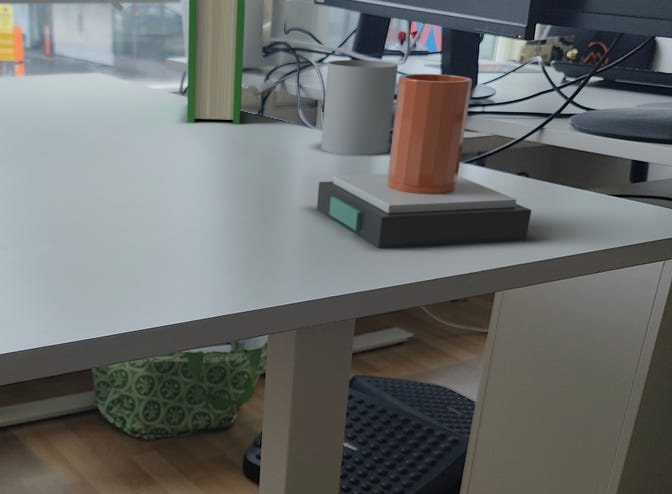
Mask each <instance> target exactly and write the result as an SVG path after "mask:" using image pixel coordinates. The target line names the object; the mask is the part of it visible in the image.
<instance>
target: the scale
mask: <svg viewBox="0 0 672 494" xmlns="http://www.w3.org/2000/svg"><path fill="white" fill-rule="evenodd" d="M387 182H388V173H380V174H379V173H378V174H377V173H376V174H353V175H352V174H350V175H334V176H333V180H332V181H319V183H318V191H317V204H316V211H317V212H319V213H321V214H323V215H324V216H326V217H327V218H329V219H331V220H332V221H334V222H335V223H337V224H338V225H340V226H341V227H343V228H345V229H346V230H348V231H349V232H351V233H353V234H354V235H356V236H358V237H359V238H361V239H362V240H364V241H366V242H367V243H369V244H371V245H372V246H374V247H375V248H377V249H395V248H414V247H431V246H448V245H450V246H451V245H465V244H467V245H468V244H482V243H499V242H500V243H501V242H518V241H526V240H527V235H528V230H529V226H530V220H531V214H532V209H530V208H528V207H525V206H523V205H521V204H519V203H517V199H516V198H514V197H512V196H509V195H507V194H504V193H502V192H499V191H496V190H494V189H492V188H490V187H487V186H485V185H482V184H479V183H478V182H475V181H473V180H470V179H467V178H465V177H463V176H460V175H458V177H457V182H456V187H455V190H454V191H452V192H449V193H443V194H417V193H408V192H402V191H398V190H395V189H392V188H390V187H388V185H387Z"/></svg>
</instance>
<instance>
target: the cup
mask: <svg viewBox="0 0 672 494" xmlns="http://www.w3.org/2000/svg"><path fill="white" fill-rule="evenodd" d="M397 75H398V64H397V63H393V62H388V61H381V60H379V61H378V60H363V59H362V60H361V59H342V60H341V59H340V60H331V61H328V62H327V71H326V82H325V96H324V107H323V119H322V131H321V143H320V144H321V146H320V148H321V150H324V151H327V152H329V153H334V154H340V155H353V156H374V155H381V154H385V153H388V152H389V146H390V137H391V127H392V121H393V120H392V119H393V118H392V117H393V110H394V102H395V95H396V94H395V93H396V86H397V77H398V76H397Z"/></svg>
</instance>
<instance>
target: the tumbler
mask: <svg viewBox="0 0 672 494" xmlns="http://www.w3.org/2000/svg"><path fill="white" fill-rule="evenodd" d="M472 85H473V79H471V78H470V77H466V76H460V75H453V74H439V73H410V74H409V73H408V74H402V75H399V77H398V86H397V94H396V102H395V111H394V119H393V120H394V121H393V128H392V137H391V146H390V154H389V161H388V162H389V163H388V169H387V171H388V172H387V174H388V182H387V185H388V187H390V188H392V189H395V190H398V191H402V192H408V193H417V194H443V193H449V192H452V191H454V190H455V187H456V182H457V177H458V176H459V169H460V164H461V157H462V150H463V143H464V137H465V130H466V124H467V118H468V112H469V111H468V110H469V105H470V104H469V103H470V99H471V98H470V97H471V92H472V91H471V90H472Z"/></svg>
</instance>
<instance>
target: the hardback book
mask: <svg viewBox="0 0 672 494" xmlns="http://www.w3.org/2000/svg"><path fill="white" fill-rule="evenodd" d="M245 14H246V0H188V47H187V48H188V53H187V54H188V55H187V59H188V60H187V61H188V62H187V117H186V119H187V121H186V122H187V124H189V123H191V124H194V123H195V121H196V120H198V119H199V120H230V121H231V120H232V125H240V121H241V111H242V91H243V68H244V67H243V65H244V41H245V40H244V39H245V16H246V15H245Z"/></svg>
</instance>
